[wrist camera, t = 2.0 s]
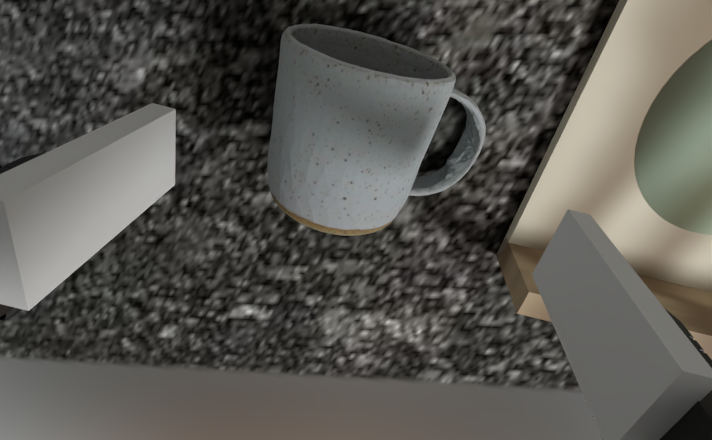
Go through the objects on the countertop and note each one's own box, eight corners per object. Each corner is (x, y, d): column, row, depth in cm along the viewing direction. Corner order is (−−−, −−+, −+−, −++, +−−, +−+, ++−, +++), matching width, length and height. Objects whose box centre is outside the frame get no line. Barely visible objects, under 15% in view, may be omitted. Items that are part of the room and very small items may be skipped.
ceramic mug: (280, 162, 25) (241, 228, 19) (302, 15, 21) (262, 32, 15) (450, 204, 26) (471, 282, 19) (503, 68, 22) (554, 107, 15)
